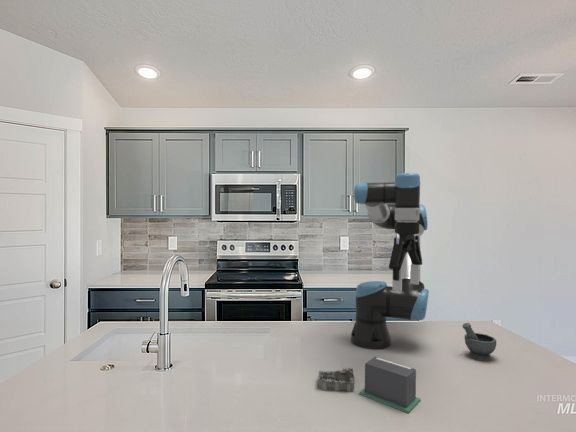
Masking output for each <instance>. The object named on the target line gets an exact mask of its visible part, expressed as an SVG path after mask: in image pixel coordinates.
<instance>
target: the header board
mask: <svg viewBox="0 0 576 432" xmlns="http://www.w3.org/2000/svg"><path fill="white" fill-rule="evenodd" d="M359 395H361V396H364V397H366V398H368V399H371V400H373V401H376V402H379V403H381V404H383V405H386V406H389V407H391V408H394V409H396V410H398V411H401V412H404V413H406V414H410V412H411V411H412V410H413V409H414V408H416V406H417V405H418V404H419V403H420V402H421V398H420V397H418V396H416V399H415V400H414V401H413V402H412V403H411V404H410V405H409V406H408V407H407V408H405V407H402V406H400V405H397V404H395V403H392V402H390V401H387V400H384V399H382V398H379V397H377V396H374V395H372V394H369V393H366V392H365V387H364V388H362V389H361V390H360V391H359Z"/></svg>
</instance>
